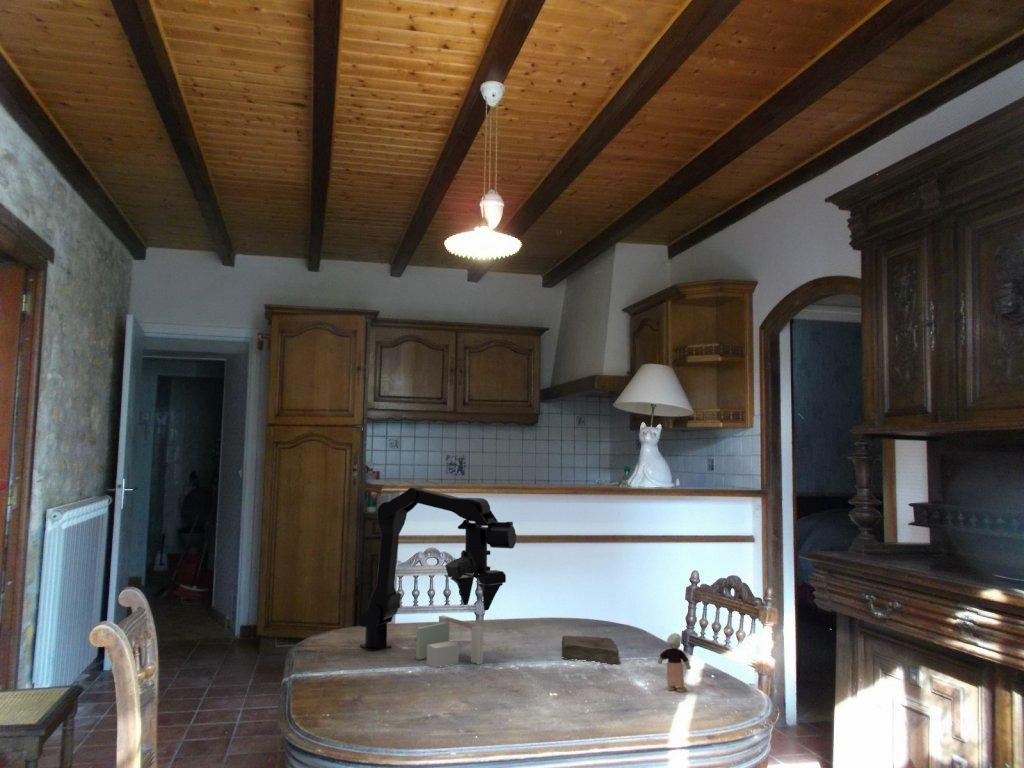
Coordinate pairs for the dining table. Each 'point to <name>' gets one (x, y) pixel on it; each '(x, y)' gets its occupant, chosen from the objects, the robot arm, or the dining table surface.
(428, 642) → the door
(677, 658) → the grandmother figurine
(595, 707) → the dining table surface
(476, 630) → the wall frame
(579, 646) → the brown stone slab
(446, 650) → the block
